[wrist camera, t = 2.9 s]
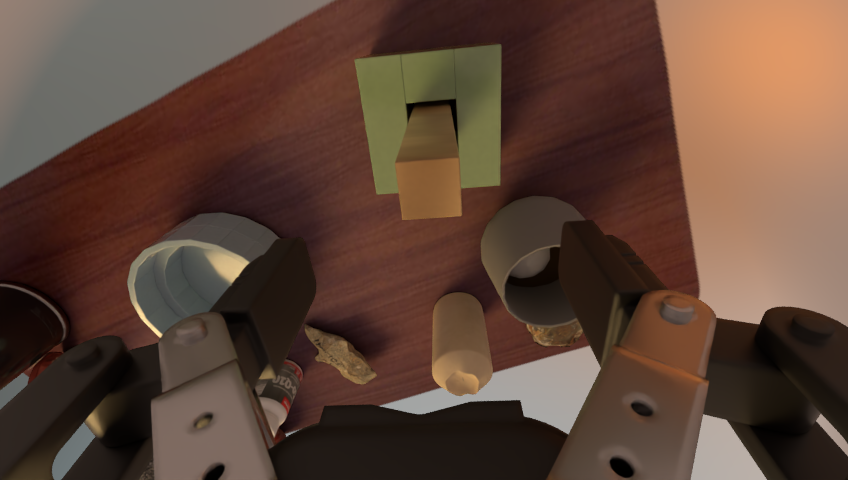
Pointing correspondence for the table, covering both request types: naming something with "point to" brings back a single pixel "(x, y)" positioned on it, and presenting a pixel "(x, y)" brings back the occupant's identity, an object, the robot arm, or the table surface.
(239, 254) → the bowl
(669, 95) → the table surface
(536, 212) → the cup
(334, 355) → the artifact
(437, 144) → the stick
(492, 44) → the stand
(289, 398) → the pill bottle
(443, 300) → the candle
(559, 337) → the decorative disc
